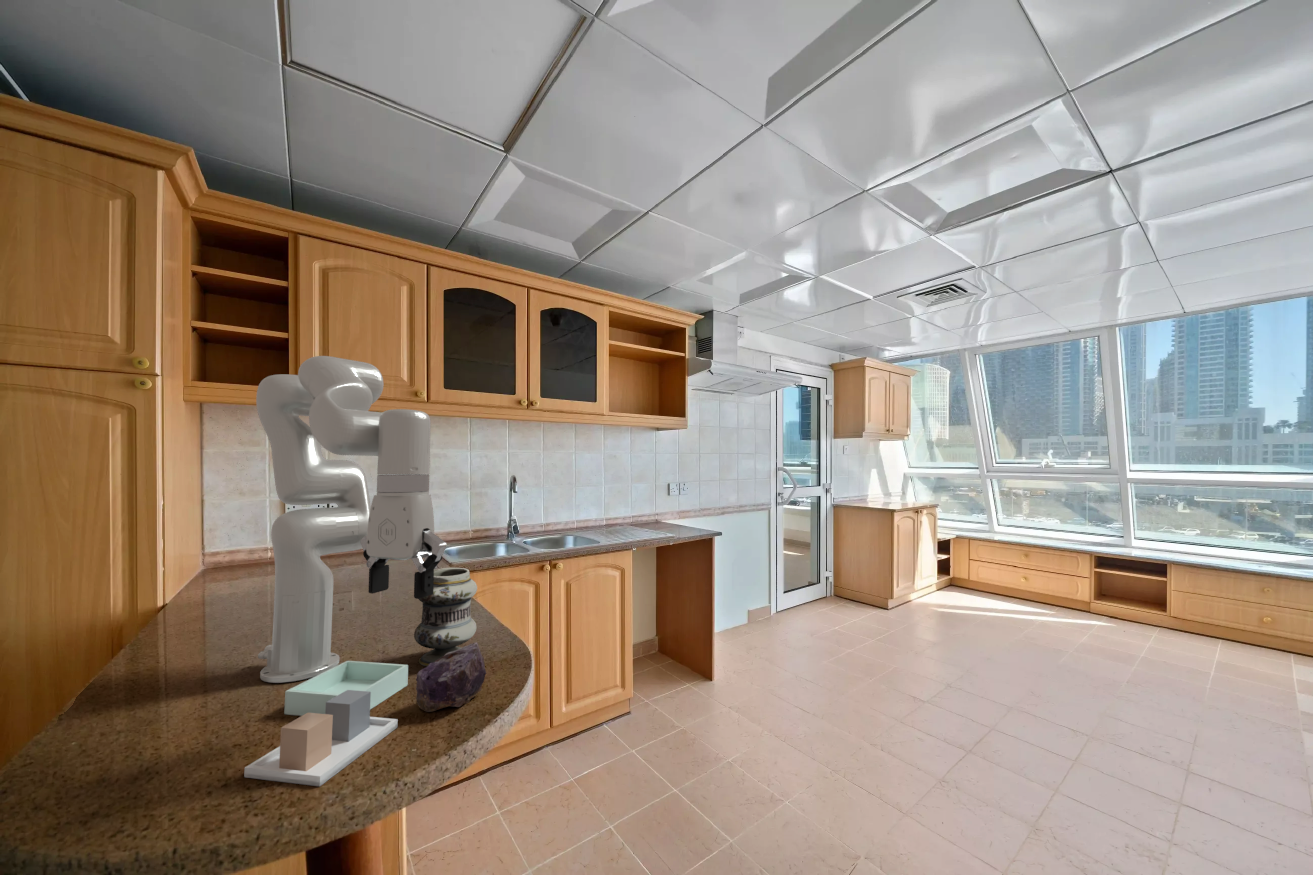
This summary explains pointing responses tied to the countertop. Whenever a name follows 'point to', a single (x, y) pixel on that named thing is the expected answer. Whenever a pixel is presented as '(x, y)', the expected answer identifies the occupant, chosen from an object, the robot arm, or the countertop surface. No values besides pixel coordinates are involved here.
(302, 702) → the seafoam storage bin
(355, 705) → the matte grey cube
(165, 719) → the countertop surface
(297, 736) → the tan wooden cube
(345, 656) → the countertop surface
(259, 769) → the tray
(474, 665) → the rock
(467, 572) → the apothecary jar
